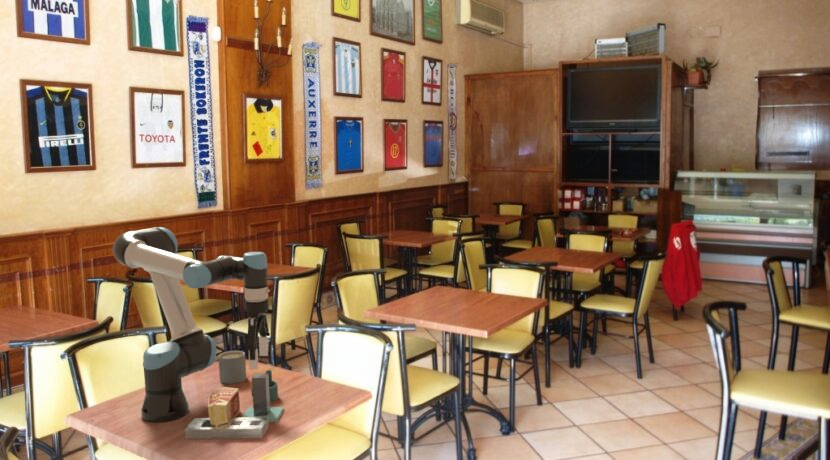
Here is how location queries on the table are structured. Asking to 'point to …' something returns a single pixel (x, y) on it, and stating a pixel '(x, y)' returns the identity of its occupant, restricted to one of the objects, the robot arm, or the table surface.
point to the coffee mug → (232, 367)
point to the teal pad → (272, 416)
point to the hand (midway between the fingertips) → (258, 362)
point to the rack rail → (227, 428)
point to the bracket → (271, 387)
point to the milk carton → (223, 405)
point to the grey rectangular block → (261, 394)
